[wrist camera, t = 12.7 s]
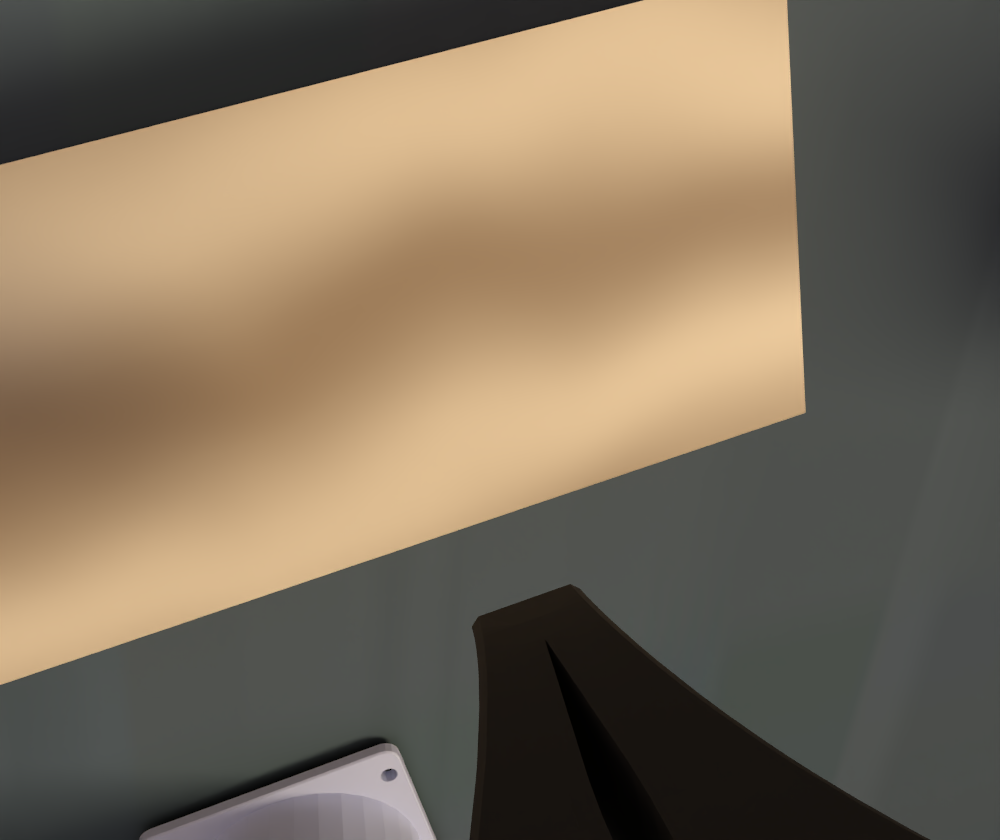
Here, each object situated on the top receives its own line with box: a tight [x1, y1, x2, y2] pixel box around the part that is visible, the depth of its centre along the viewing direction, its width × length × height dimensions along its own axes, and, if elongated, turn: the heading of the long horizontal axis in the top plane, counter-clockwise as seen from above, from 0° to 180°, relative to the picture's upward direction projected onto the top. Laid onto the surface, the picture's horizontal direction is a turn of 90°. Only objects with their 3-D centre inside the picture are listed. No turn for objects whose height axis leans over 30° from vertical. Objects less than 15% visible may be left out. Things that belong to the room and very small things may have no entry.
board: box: [0, 0, 805, 685], centre depth 15 cm, size 9×24×4 cm, turn 103°
